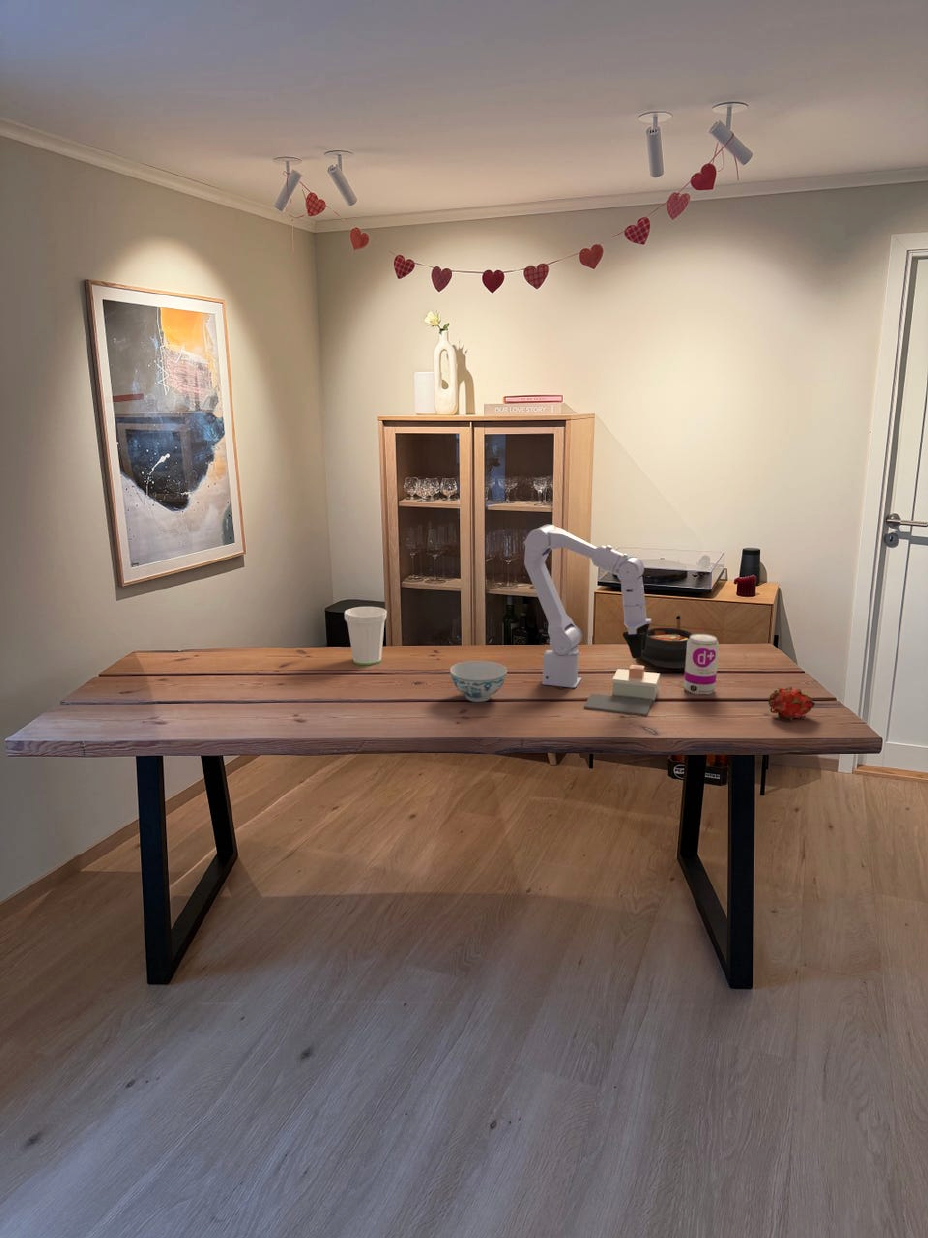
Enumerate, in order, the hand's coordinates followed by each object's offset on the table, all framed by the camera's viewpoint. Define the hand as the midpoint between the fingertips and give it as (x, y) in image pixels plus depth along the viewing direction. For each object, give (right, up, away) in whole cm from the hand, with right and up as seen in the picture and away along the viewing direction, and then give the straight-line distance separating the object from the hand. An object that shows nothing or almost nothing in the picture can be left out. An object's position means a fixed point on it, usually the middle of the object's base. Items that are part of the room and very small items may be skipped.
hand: (639, 654), depth 228 cm
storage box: (0, -11, +3) cm, 11 cm away
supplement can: (+17, -10, +6) cm, 21 cm away
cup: (-75, -3, +30) cm, 81 cm away
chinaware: (-43, -12, 0) cm, 44 cm away
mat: (-7, -13, -5) cm, 15 cm away
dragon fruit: (+35, -15, -13) cm, 41 cm away
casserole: (+15, -3, +31) cm, 34 cm away
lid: (0, -8, +2) cm, 8 cm away
